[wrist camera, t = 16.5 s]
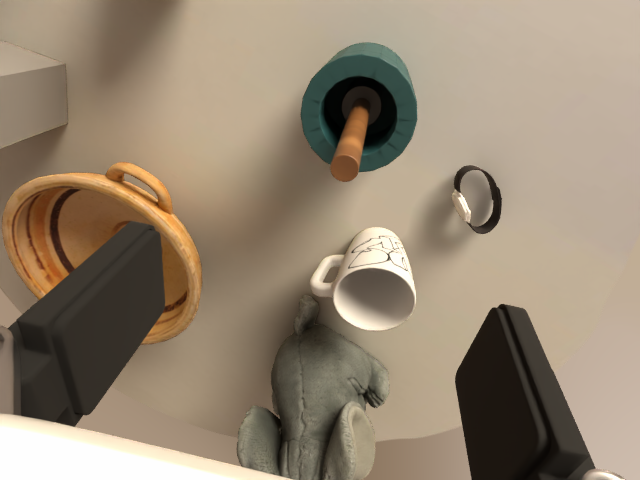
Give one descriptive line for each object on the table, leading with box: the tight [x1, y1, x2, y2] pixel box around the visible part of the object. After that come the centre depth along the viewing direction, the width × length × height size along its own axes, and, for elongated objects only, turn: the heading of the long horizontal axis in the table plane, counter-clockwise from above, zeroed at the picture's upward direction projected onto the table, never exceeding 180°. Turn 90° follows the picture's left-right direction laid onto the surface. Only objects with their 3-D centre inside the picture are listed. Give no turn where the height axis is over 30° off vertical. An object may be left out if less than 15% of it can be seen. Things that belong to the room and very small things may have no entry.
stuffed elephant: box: [237, 296, 389, 480], centre depth 48 cm, size 19×21×27 cm
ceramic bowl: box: [2, 162, 202, 345], centre depth 50 cm, size 30×24×8 cm
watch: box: [452, 165, 502, 234], centre depth 41 cm, size 8×5×4 cm, turn 25°
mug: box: [310, 227, 416, 331], centre depth 44 cm, size 11×8×10 cm
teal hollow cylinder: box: [301, 43, 417, 172], centre depth 35 cm, size 9×9×10 cm
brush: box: [330, 77, 383, 182], centre depth 30 cm, size 4×4×20 cm
